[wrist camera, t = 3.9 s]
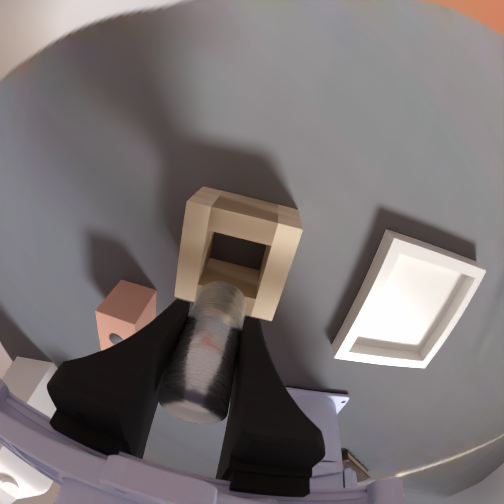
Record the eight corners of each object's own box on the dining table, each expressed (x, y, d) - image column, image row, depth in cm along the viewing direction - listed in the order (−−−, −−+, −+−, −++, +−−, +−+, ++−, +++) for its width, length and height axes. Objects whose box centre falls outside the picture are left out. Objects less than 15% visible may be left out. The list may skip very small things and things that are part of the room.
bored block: (272, 290, 23) (271, 321, 20) (189, 269, 23) (174, 296, 20) (298, 209, 20) (302, 229, 17) (202, 186, 20) (186, 201, 17)
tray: (419, 356, 26) (424, 368, 24) (331, 344, 25) (333, 358, 24) (476, 261, 21) (486, 270, 19) (385, 228, 20) (394, 238, 19)
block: (155, 330, 27) (136, 366, 22) (123, 319, 27) (101, 352, 22) (156, 289, 24) (134, 325, 20) (121, 279, 24) (95, 311, 20)
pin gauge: (240, 326, 15) (222, 429, 10) (194, 315, 15) (158, 413, 10) (250, 288, 14) (233, 396, 9) (199, 276, 14) (155, 376, 8)
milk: (17, 356, 34) (-52, 458, 11) (53, 362, 32) (-24, 491, 9) (52, 401, 39) (1, 499, 16) (92, 411, 37) (39, 529, 14)
